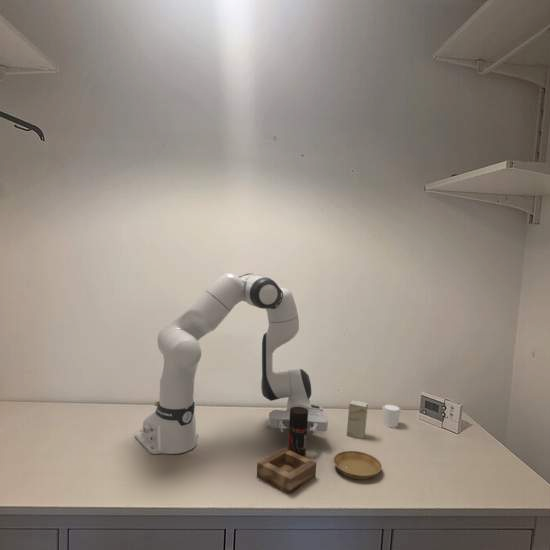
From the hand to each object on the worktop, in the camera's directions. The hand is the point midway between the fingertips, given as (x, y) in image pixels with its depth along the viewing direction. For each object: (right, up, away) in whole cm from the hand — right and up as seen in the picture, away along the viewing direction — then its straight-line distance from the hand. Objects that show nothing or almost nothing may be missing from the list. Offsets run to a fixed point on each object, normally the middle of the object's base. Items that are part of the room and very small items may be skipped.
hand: (297, 430), depth 141 cm
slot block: (-4, -9, -13) cm, 16 cm away
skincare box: (+22, -8, +17) cm, 29 cm away
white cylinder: (+38, -8, +27) cm, 47 cm away
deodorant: (0, -8, +1) cm, 8 cm away
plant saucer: (+18, -10, -7) cm, 22 cm away
